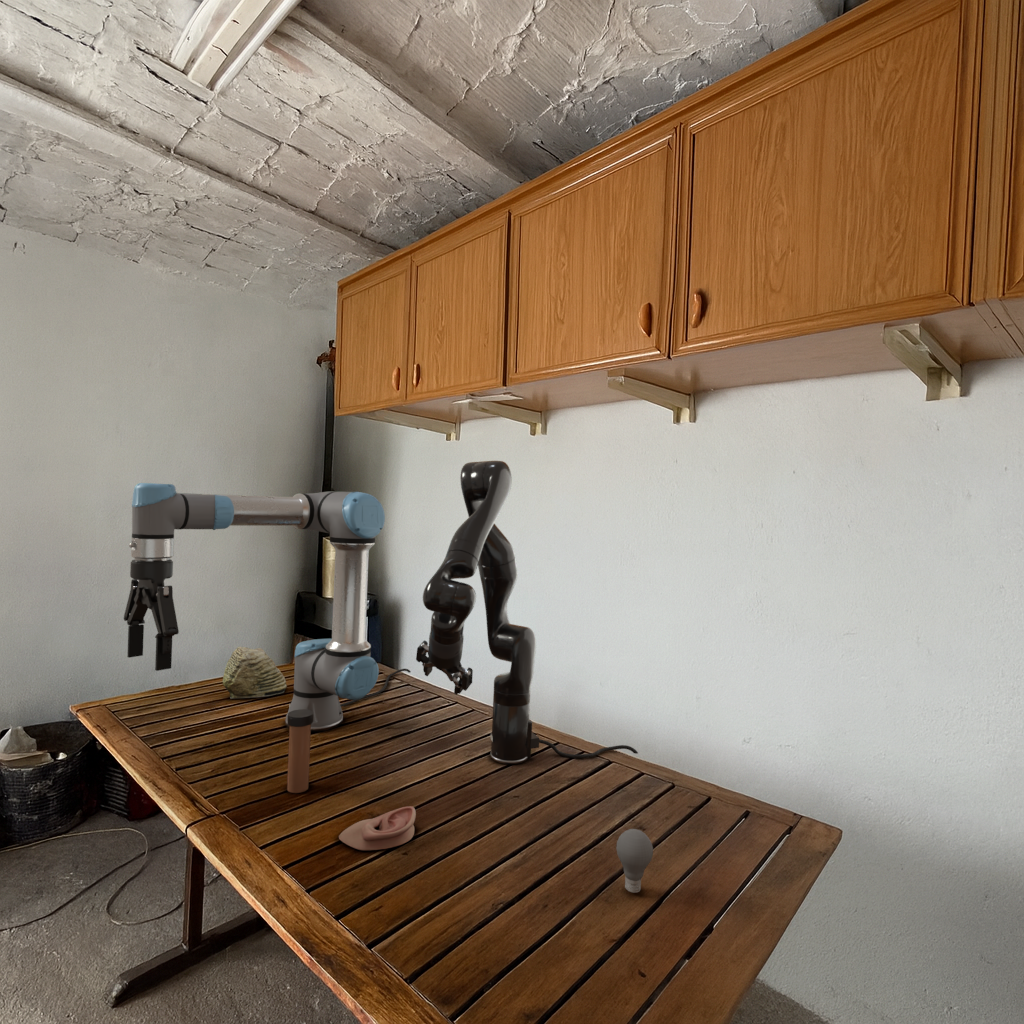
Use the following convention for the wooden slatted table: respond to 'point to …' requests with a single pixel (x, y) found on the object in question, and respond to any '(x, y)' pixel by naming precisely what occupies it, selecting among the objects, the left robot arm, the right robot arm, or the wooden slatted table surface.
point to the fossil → (252, 674)
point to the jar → (298, 759)
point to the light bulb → (634, 857)
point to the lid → (300, 717)
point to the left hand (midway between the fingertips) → (148, 662)
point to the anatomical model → (381, 830)
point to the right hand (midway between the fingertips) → (442, 682)
